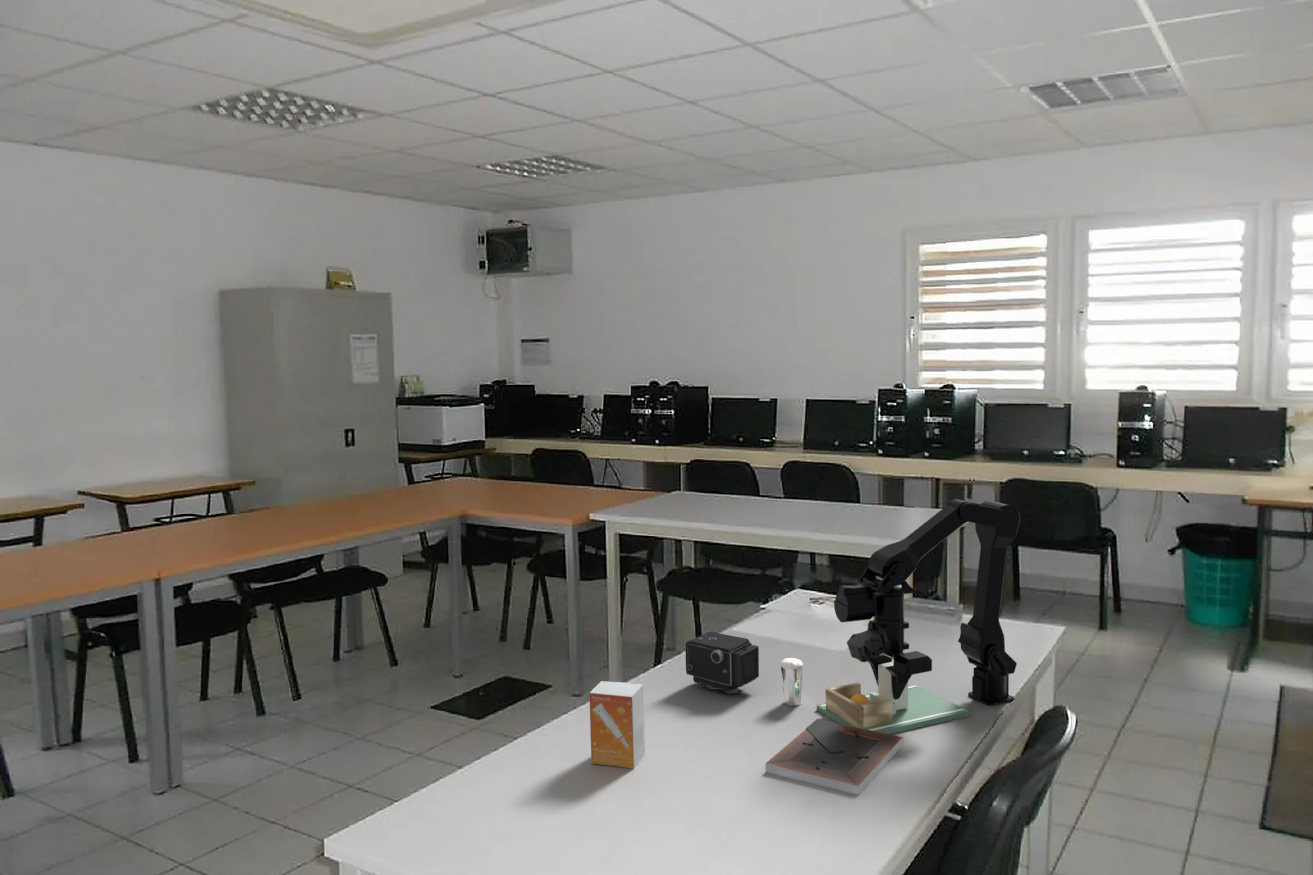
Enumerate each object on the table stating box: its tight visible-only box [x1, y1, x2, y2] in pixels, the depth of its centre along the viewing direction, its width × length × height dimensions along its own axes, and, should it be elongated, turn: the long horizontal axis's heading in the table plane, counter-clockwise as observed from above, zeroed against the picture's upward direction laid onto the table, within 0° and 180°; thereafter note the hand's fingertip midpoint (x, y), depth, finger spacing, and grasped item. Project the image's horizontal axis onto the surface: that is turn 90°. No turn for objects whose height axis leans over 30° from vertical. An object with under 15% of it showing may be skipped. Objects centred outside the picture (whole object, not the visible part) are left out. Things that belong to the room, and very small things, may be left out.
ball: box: [850, 693, 870, 705], centre depth 181 cm, size 4×4×4 cm
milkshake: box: [780, 655, 808, 707], centre depth 190 cm, size 5×5×10 cm
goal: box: [825, 682, 893, 728], centre depth 180 cm, size 8×11×4 cm
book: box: [765, 718, 904, 796], centre depth 164 cm, size 16×2×22 cm
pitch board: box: [816, 684, 970, 735], centre depth 184 cm, size 24×16×1 cm, turn 113°
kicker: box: [869, 661, 909, 715], centre depth 183 cm, size 5×7×8 cm
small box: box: [589, 680, 646, 770], centre depth 166 cm, size 8×6×13 cm
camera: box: [685, 631, 760, 694], centre depth 199 cm, size 11×11×15 cm
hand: (889, 695), depth 183 cm, fingers closed on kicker, 4 cm apart
